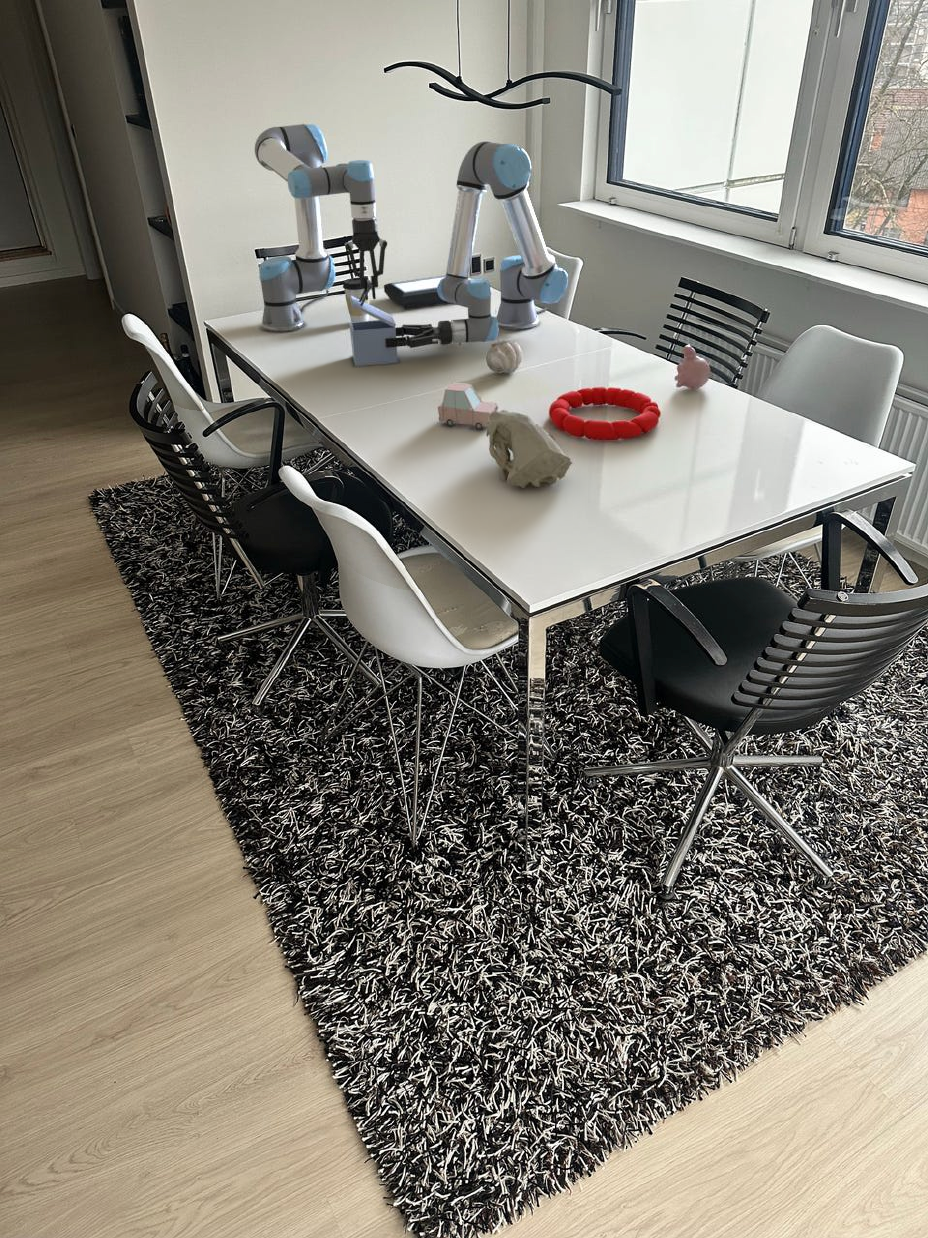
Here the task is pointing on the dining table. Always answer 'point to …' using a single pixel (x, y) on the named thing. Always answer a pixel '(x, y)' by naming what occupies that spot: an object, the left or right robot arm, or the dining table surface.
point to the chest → (372, 343)
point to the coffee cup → (355, 290)
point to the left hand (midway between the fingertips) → (370, 298)
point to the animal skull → (525, 450)
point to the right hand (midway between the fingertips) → (383, 337)
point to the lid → (371, 307)
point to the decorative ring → (604, 428)
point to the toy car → (465, 406)
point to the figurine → (692, 370)
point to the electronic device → (415, 292)
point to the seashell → (504, 356)
